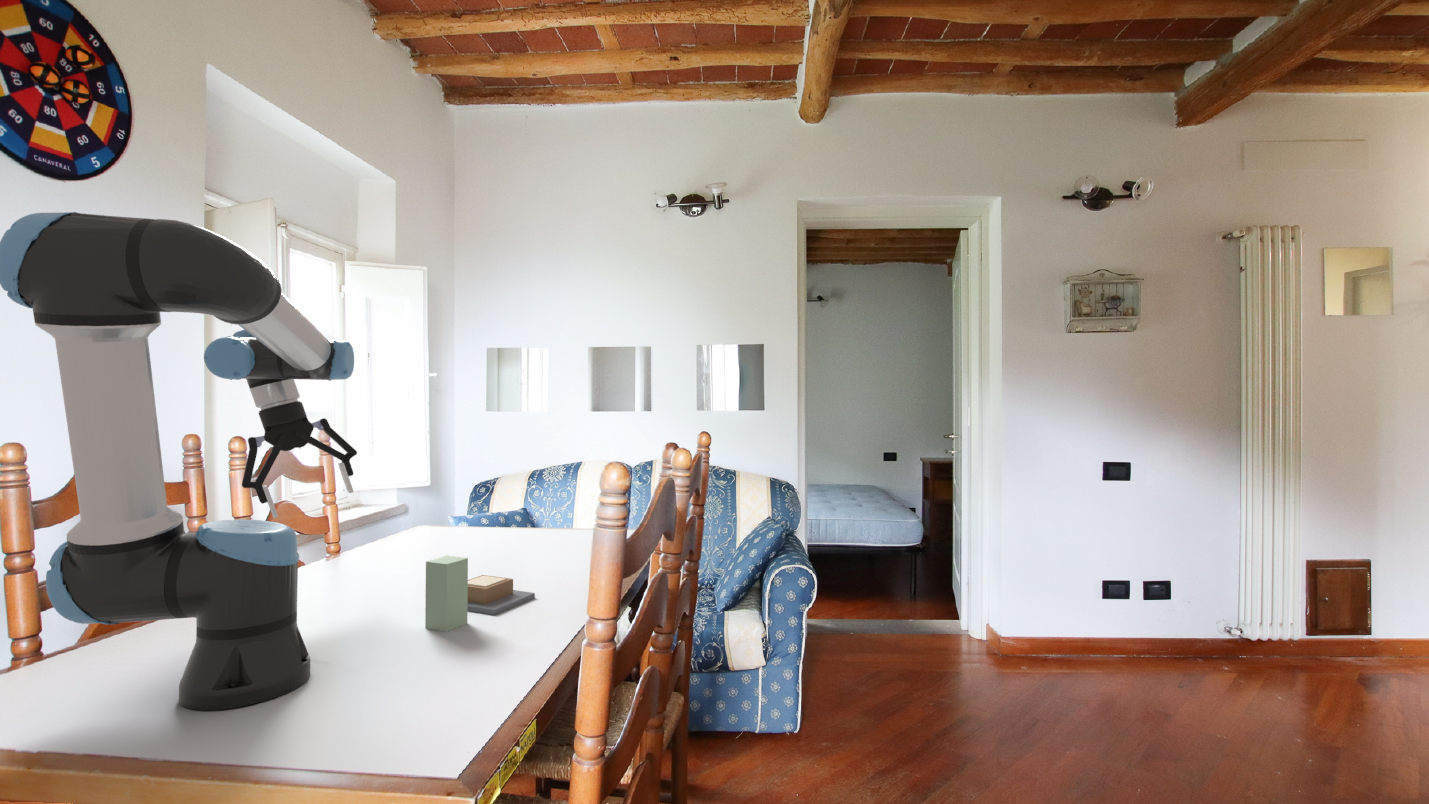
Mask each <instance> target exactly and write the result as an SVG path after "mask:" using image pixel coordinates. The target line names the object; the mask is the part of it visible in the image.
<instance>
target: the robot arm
mask: <svg viewBox="0 0 1429 804" xmlns="http://www.w3.org/2000/svg"><path fill="white" fill-rule="evenodd" d="M0 286H1V289H2V290H3V291H5V292H7V297H8V298H9V299H10V300H12V302H14V303H16V304H18V305H20V306H23V307H26V308H27V309H32V313H33V319H34V325H35V326H36V327H37V328H40V329H41V330H42V331H44V332H45V333H47V334H48V335H50V336H51V337H52V338H53V339H54V341H55V347H56V355H57V362H58V368H59V369H58V370H59V375H60V382H61V383H60V384H61V390H62V396H63V404H64V411H65V417H66V424H67V432H68V438H69V439H68V440H69V448H70V453H71V459H72V460H71V461H72V468H73V473H74V475H73V476H74V480H75V487H76V488H75V489H76V495H77V502H78V503H77V504H78V508H79V517H80V520H79V522H78V523H76V524H75V525H74V526H73V527H72V528H71V529H70V530H69V531H68V532H67V533H66V541H64V542H63V543H61V544H60V545H59V546H58V548H57V549H56V550H55V551H54V552H53V553H52V555H51V558H50V560H49V562H48V564H49V567H50V569H49V570H47V571H46V575H45V587H46V593H47V596H48V599H49V601H50V603H51V605H52V607H53V608H54V610H55V611H56V613H58V614H59V615H60V616H61V617H62V618H64V619H66V620H68V621H70V622H74V623H77V624H81V625H83V624H84V625H86V624H88V625H89V624H90V625H91V624H95V625H96V624H102V625H118V624H121V623H123V624H124V623H134V622H148V621H161V620H175V619H190V618H193V619H194V618H195V619H196V620H195V621H196V631H195V632H196V634H195V635H196V636H195V643H194V646H193V648H192V651H191V654H190V656H189V659H188V661H187V663H186V667H185V669H184V671H183V674H182V677H181V678H180V681H179V685H178V702H179V704H180V706H182V707H184V708H186V709H189V710H197V711H219V710H227V709H233V708H234V709H235V708H241V707H245V706H246V707H247V706H249V705H254V704H258V703H261V702H265V701H268V700H271V699H274V698H275V699H276V698H277V697H280V696H282V695H284V694H287V693H289V692H291V691H294V690H296V689H298V687H300V686H302V685H303V684H304V683H305V682H307V680H309V678H310V676H311V657H310V655H309V651H308V649H307V647H306V644H305V642H304V640H303V636H302V633H301V632H300V631H301V630H300V629H299V626H298V575H299V570H298V569H299V561H300V555H299V553H298V535H297V533H296V531H295V530H294V529H293V528H292V527H290V526H289V525H286V524H285V523H281V522H275V521H270V520H262V519H261V520H259V519H235V520H234V519H233V520H232V519H220V520H213V521H208V522H205V523H202V524H201V525H200V526H199V527H198V528H197V530H196V532H186V531H185V527H184V519H183V515H182V514H181V513H180V512H178V511H176V510H174V509H172V508H170V507H169V506H168V503H167V502H168V501H167V495H166V494H167V493H166V492H167V491H166V486H165V478H164V477H165V475H164V467H163V458H162V450H161V442H160V441H161V440H160V433H159V423H158V416H157V407H156V398H155V396H156V395H155V388H154V381H153V373H152V372H153V371H152V364H151V363H152V361H151V356H150V355H151V354H150V346H149V344H150V343H149V336H150V335H151V334H152V333H153V332H154V331H155V330H156V329H158V328H159V327H160V326H161V325H162V318H161V313H191V314H203V315H209V316H213V317H215V318H216V319H218V320H220V321H221V322H224V323H227V324H231V325H235V326H236V325H238V326H239V327H241V328H242V330H239V331H236V332H234V333H233V334H232V336H230V335H229V336H226V337H220V338H216V339H214V340H213V341H211V342H210V343H209V344H208V345H207V346H206V348H205V350H204V353H203V362H204V363H205V366H206V368H207V370H208V371H209V372H210V373H211V374H213V375H214V376H216V377H219V379H220V378H221V379H226V380H230V381H231V380H242V379H243V380H245V379H246V380H245V381H247V385H248V388H249V390H250V393H251V397H252V398H253V402H254V404H255V407H256V408H257V409H260V410H259V411H258V416H259V419H260V421H261V424H262V428H263V429H264V435H261V436H250V437H249V438H247V443H248V449H249V451H248V454H247V455H248V456H247V458H246V459H247V460H246V463H245V469H244V473H243V477H242V480H241V481H242V482H241V487H243V489H253V490H255V492H256V495H257V497H258V500H259V502H260V504H265V503H267V504H268V507H269V510H270V512H271V515H272V518H273V519H276V518H279V515H278V512H277V509H276V507H275V506H276V505H275V503H274V502H273V498H272V495H271V492H270V489H269V488H268V484H265V485H263V484H264V482H265V481H266V478H267V476H268V475H269V473H270V471H271V470H272V469H271V468H273V465H274V463H275V461H276V459H277V458H278V456H279V454H280V452H281V451H282V452H289V451H291V450H294V449H298V448H303V447H305V446H306V445H307V444H309V445H311V446H313V447H315V448H317V449H319V450H321V451H323V452H324V453H325V454H328V455H330V456H332V457H334V458H336V459H338V460H340V461H341V462H338V463H337V464H338V468H339V471H340V474H341V476H342V480H343V482H344V487H345V489H346V491H347V493H348V494H352V493H354V489H353V486H352V483H351V479H350V477H351V476H354V471H353V467H352V464H351V462H350V460H351V459H352V458H354V457H355V456H357V454H358V451H357V450H356V449H355V448H354V447H353V446H351V445H350V444H349V443H348V442H347V441H346V440H345V439H344V438H343V437H342V436H341V435H339V433H337V432H336V431H335V430H334V429H333V428H332V427H331V425H330V424H329V422H328V420H327V418H320V419H318V420H317V421H314V422H310V420H309V419H308V416H307V413H306V411H305V406H304V404H303V402H301V401H299V400H298V399H300V397H301V395H300V392H299V390H298V387H297V384H296V382H295V380H310V381H311V380H312V381H313V380H315V381H316V380H319V381H320V380H321V381H323V380H324V381H330V382H331V381H333V380H335V381H336V380H337V381H339V380H348V379H349V378H350V377H351V376H352V374H353V371H354V368H355V353H354V352H355V351H354V348H353V346H352V344H351V343H350V342H349V341H347V340H339V339H334V338H333V339H327V338H326V337H325V335H323V334H322V332H321V331H320V330H319V329H318V328H317V327H316V326H315V325H314V324H313V323H312V322H311V321H310V320H309V319H308V318H307V317H306V316H305V315H304V314H303V312H301V311H300V310H299V308H298V307H297V306H296V305H294V304H293V302H292V301H291V300H290V299H289V298H288V297H287V296H286V295H285V294H284V293H283V290H282V284H281V282H280V279H279V278H278V277H277V275H276V274H275V272H273V271H272V269H270V267H269V266H267V264H266V263H264V261H262V260H261V259H260V258H259V257H257V256H256V255H255V254H253V253H252V252H250V251H249V250H247V249H246V248H244V247H242V246H240V245H239V244H237V243H235V242H233V241H232V240H230V239H228V238H226V237H225V236H222V235H220V234H218V233H215V232H214V231H211V230H209V229H206V228H205V227H202V226H198V225H196V224H192V223H189V222H184V221H179V220H175V219H165V218H156V219H155V218H147V217H145V218H143V217H130V216H129V217H128V216H117V215H104V214H103V215H101V214H91V213H80V212H76V211H73V212H72V211H71V212H35V213H30V214H26V215H24V216H21V218H19V219H17V220H16V221H14V222H13V223H12V224H11V226H10V228H8V229H7V230H5V231H4V233H3V235H2V236H1V239H0ZM315 428H316V429H317V430H319V431H323V432H324V433H325V434H326V435H327V436H328V437H329V438H331V440H333V441H334V442H335V443H336V444H337V445H338V446H340V448H341V449H342V450H344V452H346V453H345V454H344V453H342V452H341V451H338V450H336V449H335V448H333V447H331V446H329V445H327V444H326V443H324V442H322V441H320V440H319V439H317V438H315V437H312V434H313V431H314V429H315ZM264 442H266V443H269V445H271V446H273V447H272V448H271V451H270V452H269V454H268V456H267V458H266V460H265V461H264V464H263V465H262V468H261V469H260V472H259V473H258V475H257V477H256V479H255V480H253V481H252V477H253V473H254V472H253V471H254V468H255V463H256V459H257V454H258V448H261V446H262V443H264Z"/></svg>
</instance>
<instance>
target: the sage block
mask: <svg viewBox="0 0 1429 804" xmlns="http://www.w3.org/2000/svg"><path fill="white" fill-rule="evenodd" d="M468 562H469V559H468V557H461V556H454V555H444V556H441V557H437V558H433V559H431V560H426V561H425V610H424V611H425V614H424V615H425V617H424V618H425V619H424V620H425V621H424V624H425V625H424V626H425V629H428V630H433V631H439V632H445V633H447V632H450V631H452V630H455V629H456V628H459V627H462V626H464V625H466V624H468V611H467V606H468V580H469V579H468V578H469V577H468V576H469V574H468V573H469V563H468Z"/></svg>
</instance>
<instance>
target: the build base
mask: <svg viewBox="0 0 1429 804" xmlns="http://www.w3.org/2000/svg"><path fill="white" fill-rule="evenodd" d="M535 598H536V593H535V592H531V591H523V590H515V589H514V578H510V577H509V578H508V577H501V576H494V575H485V574H481V575H479V576H476V577H473V578H470V579H468V606H467V612H472V613H473V612H474V613H480V614H487V615H492V616H496V615H498V614H501V613H503V612H505V611H507V610H510V609H511V608H512V609H513V608H515V607H517V606H519V605H521V604H523V603H526V602H528V601H530V600H531V601H532V600H533V599H535Z"/></svg>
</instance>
